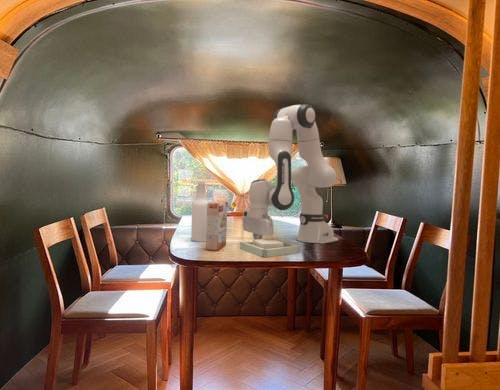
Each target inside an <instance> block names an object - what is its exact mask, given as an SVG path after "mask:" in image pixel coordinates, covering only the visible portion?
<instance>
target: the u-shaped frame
mask: <svg viewBox="0 0 500 390" xmlns="http://www.w3.org/2000/svg"><path fill="white" fill-rule="evenodd" d="M274 239H275V240H278V241H280V242H282V243H283V247H280V248H271V249H263V248H260V247H257V246H254V245H253V244H251V243H248V242H245V241H240V243H239V249H240V248H241V249H240V250H243V251H245V250H246V252H248V253H251V254H254V255H256V256H259V257H262V258H264V259H265V258H270V257H278V256H288V255H294V254H300V251H301V247H300V245H297V244H293V243H291V242H288V241H284V240H280V239H276V238H274Z"/></svg>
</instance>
